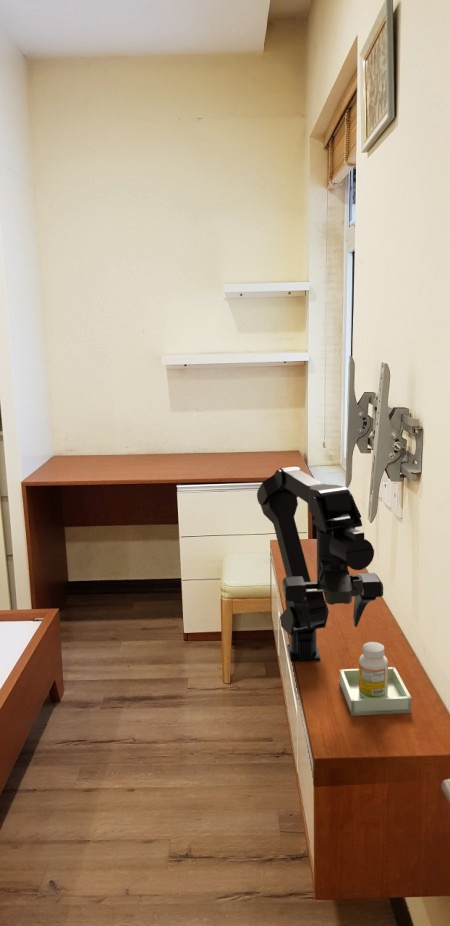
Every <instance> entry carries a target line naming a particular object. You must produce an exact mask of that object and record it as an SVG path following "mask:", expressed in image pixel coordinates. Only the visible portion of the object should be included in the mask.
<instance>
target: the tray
mask: <svg viewBox="0 0 450 926" xmlns="http://www.w3.org/2000/svg"><path fill="white" fill-rule="evenodd" d="M339 686H340V687H341V690H342V693H343V696H344V698H345V701H346V705H347V707H348V710H349V714H350V715H351V717H352V716H371V715H390V714H391V715H392V714H409V713H410V714H411V713H412V696H411V694H410V693H409V691H408V689H407V687H406V685H405V683H404V681H403V679H402V678H401V676H400V674H399V672H398V670H397V669H396V667H395V666H391V667H389V666H388V694H387V696H386V697H384V698H364V697H362V696H361V694H360V693H359V668H349V669H347V668H346V669H339Z"/></svg>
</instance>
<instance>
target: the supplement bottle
mask: <svg viewBox="0 0 450 926" xmlns="http://www.w3.org/2000/svg"><path fill="white" fill-rule="evenodd" d="M388 667H389V660H388V658H387V656H386V655H385V646H384V645H383V644H382V643H380V642H376V641H368V642H365V643H363V645H362V654H361V655H360V656H359V659H358V669H359V693H360V694H361V696H362V697H364V698H384V697H386V696H387V694H388Z"/></svg>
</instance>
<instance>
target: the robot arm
mask: <svg viewBox="0 0 450 926" xmlns="http://www.w3.org/2000/svg"><path fill="white" fill-rule="evenodd" d="M256 491H257V493H256V497H257V502H258V504H259V505H260V508H261V511H262V513H263V515H264V516H265V517H266V518H267V519H268V520H269V521H270V522H271V524H273V529H274V533H275V536H276V540H277V544H278V549H279V552H280V556H281V559H282V564H283V568H284V572H285V575H286V576H285V577H284V578H283V579H282V582H281V583H282V586H281V588H282V592H283V593H282V594H283V596H284V601H285V608H286V609H285V610H284V611H283V613H282V614H281V615H280V616H279V621H280V627H281V628H282V629H283V630H284V631H285V632H286V633H287V634H288V635H289V644H287V645H286V648H287V652H288V655H289V656H288V657H289V660H290V661H291V662H296V661H318V660H321V655H320V654H321V653H320V651H319V648H318V645H317V640H318V639H317V630H318V629H326V627H327V626H326V625H327V622H328V617H329V612H330V611H329V607H328V605H332V606H333V605H335V604H339V605H340V604H344V605H348V604H349V605H350V604H351V603H352V601H353V600H354V601H353V615H352V616H353V626H354V627H355V628H358V625H359V623H360V620H361V618H362V615H363V613H364V611H365V609H366V607H367V606H368V604H369V603H370V602H372V601H376V600H377V598H381V597H383V596H384V584H383V582H382V580H381V579H380V577H379V576H378V575H377V574H376V572H366V573H365V572H364V573H363V572H362V573H359V572H358V573H357V574H356V575H354V574H350V572H349V569H348V568H350V569H352V570H354V571H362V570H364V569H366V568H368V567H369V566H370V565H371V563H372V562H373V559H374V556H375V549H374V545H372V543H371V542H370V541H369V540H368V539H366V538H365V533H364V531H362V530H358V529H356V528H360V527H363V522H362V520H361V518H362V515H361V513H360V510H359V508H358V506H357V504H356V502H355V499H354V496H353V494H352V493H351V491H350V490H349V489H348V488H347V487H346V486H342V485H338V484H327V483H323V482H321V481H319V480H318V479H316V478H314V477H313V476H311V475H309V474H307V473H306V472H305V471H302V468H300V467H298V466H288V467H287V466H286V467H280V468H278V469H277V470H275V472H274V473H273V475H271V476H270V477H269V478H266V480H264V481H263V482H261V485H260V486H259V488H258V489H257V490H256ZM298 498H299V499H301V500H303V501H304V502H305V503H307V504H308V512H310V514H311V515H312V517H314V518H313V520H312V522H311V523H312V524H313V525H314V526H316V581H312V580H311V577H310V576H311V575H310V573H309V569H308V565H307V561H306V558H305V554H304V550H303V546H302V542H301V539H300V534H299V530H298V527H297V524H296V520H295V515H296V512H297V510H298V509H297V508H298V505H299V502H298ZM346 517H348V518H346ZM340 518H341V519H340ZM353 597H354V598H353Z"/></svg>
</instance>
